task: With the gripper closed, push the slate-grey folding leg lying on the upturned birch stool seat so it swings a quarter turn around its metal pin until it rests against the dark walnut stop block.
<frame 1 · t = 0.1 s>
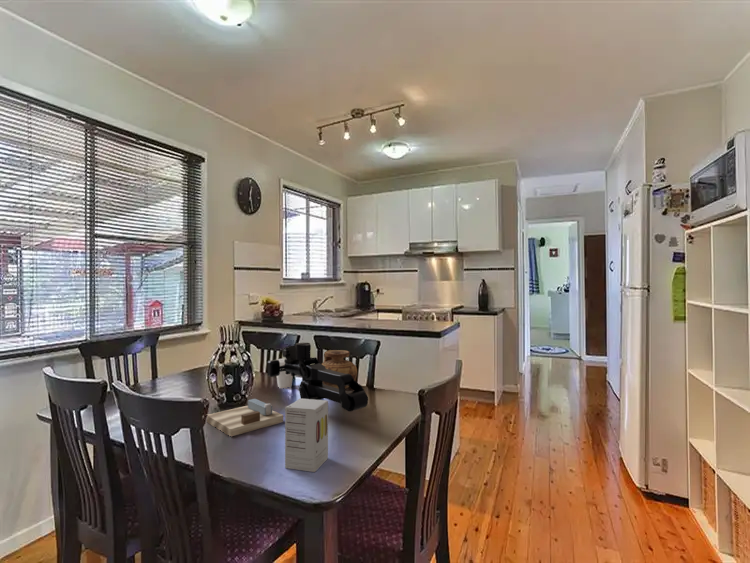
hand: (278, 362, 170), 17 cm above the table, tool horizontal, fingers open, 9 cm apart
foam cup: (284, 387, 195), on the table
stool seat: (244, 421, 146), on the table
hinged leg: (259, 405, 150), point 5 cm above the table, hinge at 0.0°
clay pot: (337, 388, 193), on the table
supplement box: (307, 463, 112), on the table
stop block: (250, 429, 138), resting on stool seat
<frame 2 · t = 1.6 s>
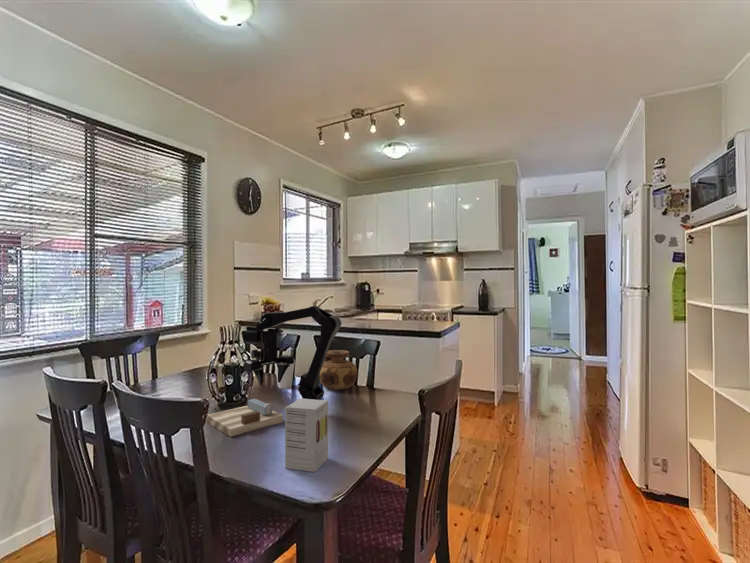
hand: (270, 384, 156), 11 cm above the table, tool pointing down, fingers open, 8 cm apart
nothing on the table moved.
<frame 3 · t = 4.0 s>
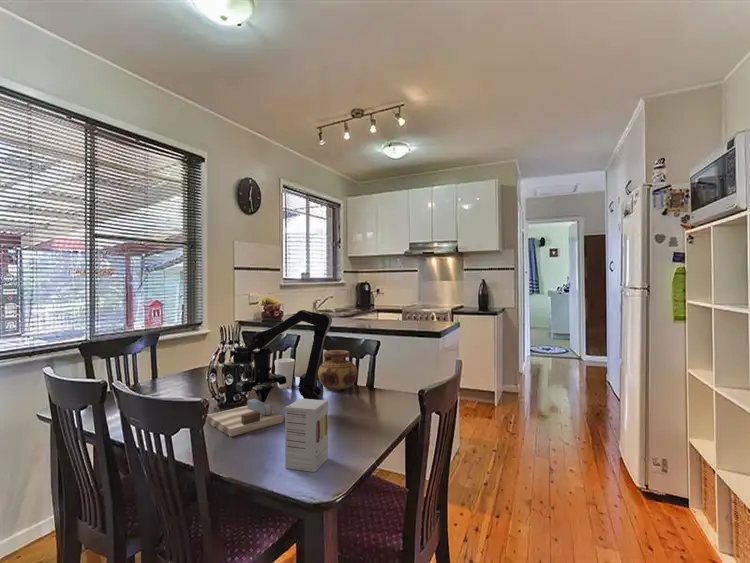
hand: (262, 405, 154), 4 cm above the table, tool pointing down, fingers closed
hinged leg: (259, 405, 150), point 5 cm above the table, hinge at 0.7°, touching gripper
everything else where it was.
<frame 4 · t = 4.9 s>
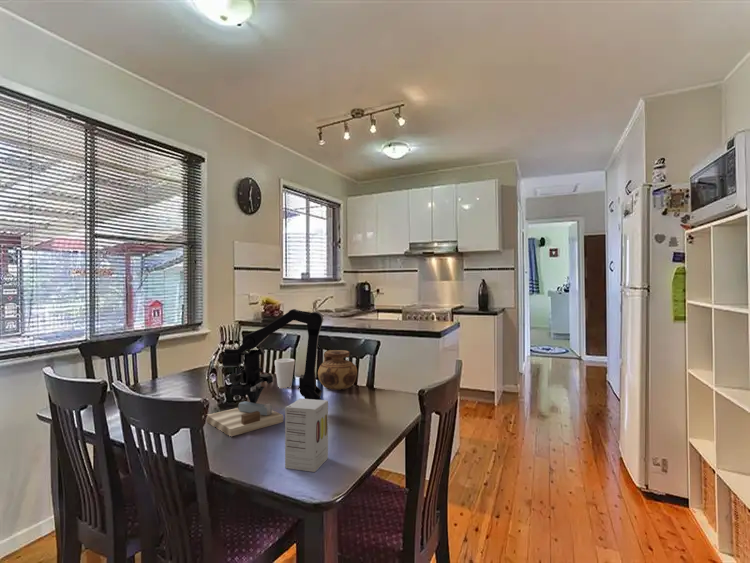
hand: (253, 406, 152), 4 cm above the table, tool pointing down, fingers closed
hinged leg: (255, 407, 148), point 5 cm above the table, hinge at 20.6°, touching gripper
everything else where it was.
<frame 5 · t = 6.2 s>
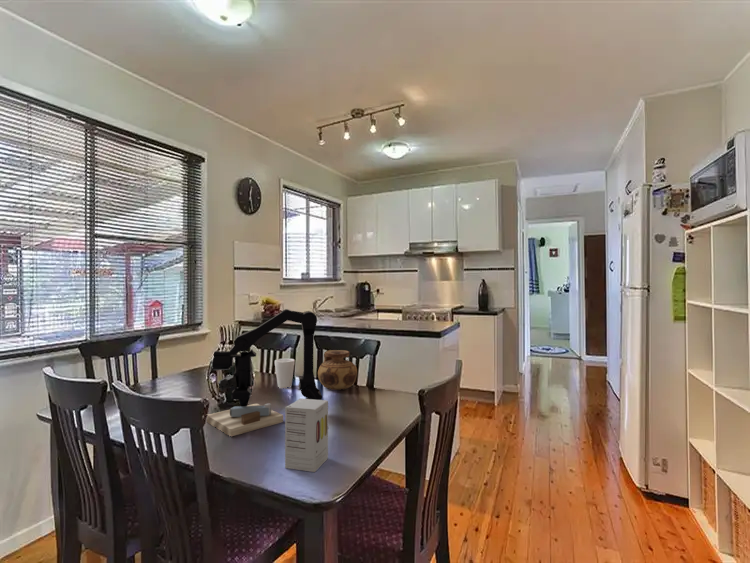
hand: (243, 410, 147), 4 cm above the table, tool pointing down, fingers closed
hinged leg: (251, 409, 145), point 5 cm above the table, hinge at 52.2°, touching gripper
everything else where it was.
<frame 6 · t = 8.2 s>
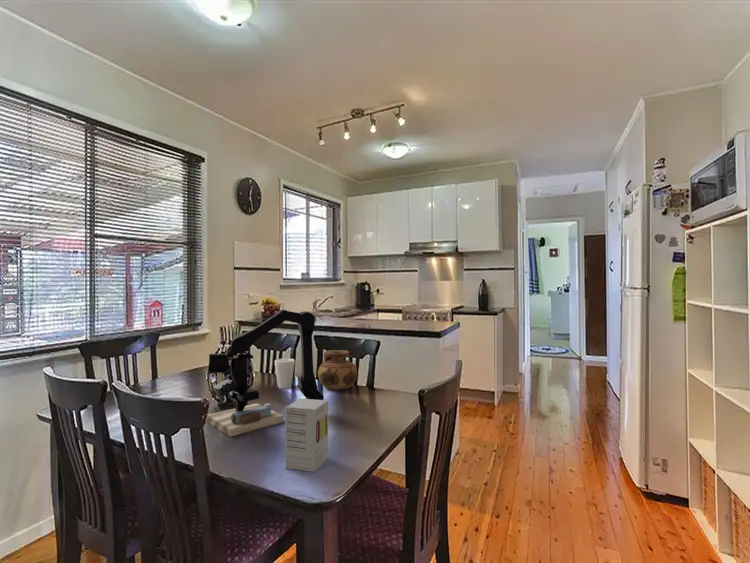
hand: (239, 415, 142), 4 cm above the table, tool pointing down, fingers closed
hinged leg: (252, 412, 141), point 5 cm above the table, hinge at 87.3°
everything else where it was.
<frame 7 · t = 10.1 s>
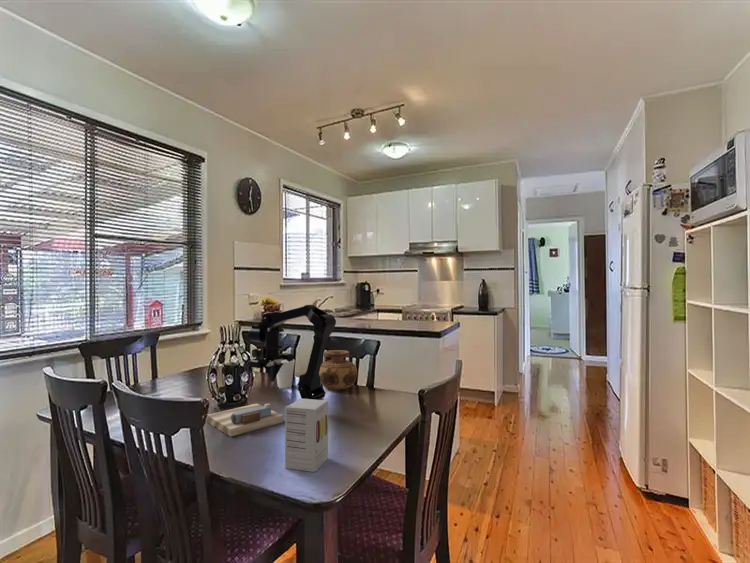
hand: (272, 381, 161), 11 cm above the table, tool pointing down, fingers closed
nothing on the table moved.
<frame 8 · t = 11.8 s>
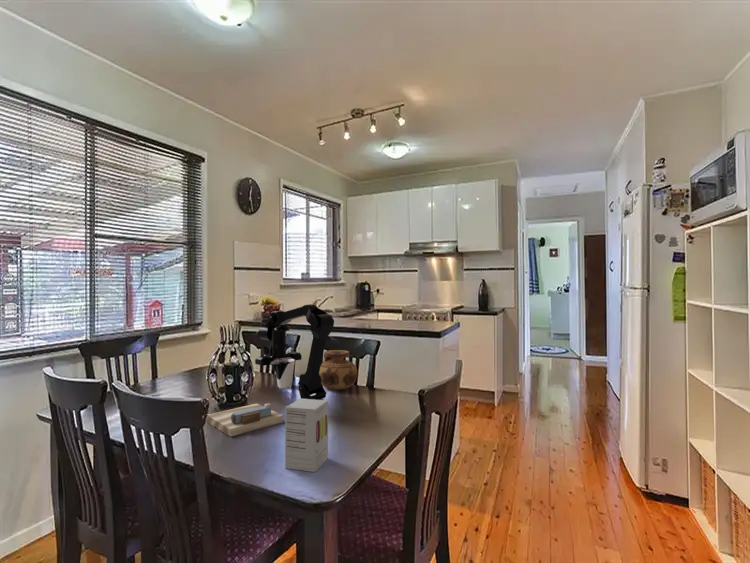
hand: (279, 379, 165), 11 cm above the table, tool pointing down, fingers closed
nothing on the table moved.
at the end: hinged leg at +87° (first picture: +0°) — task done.
